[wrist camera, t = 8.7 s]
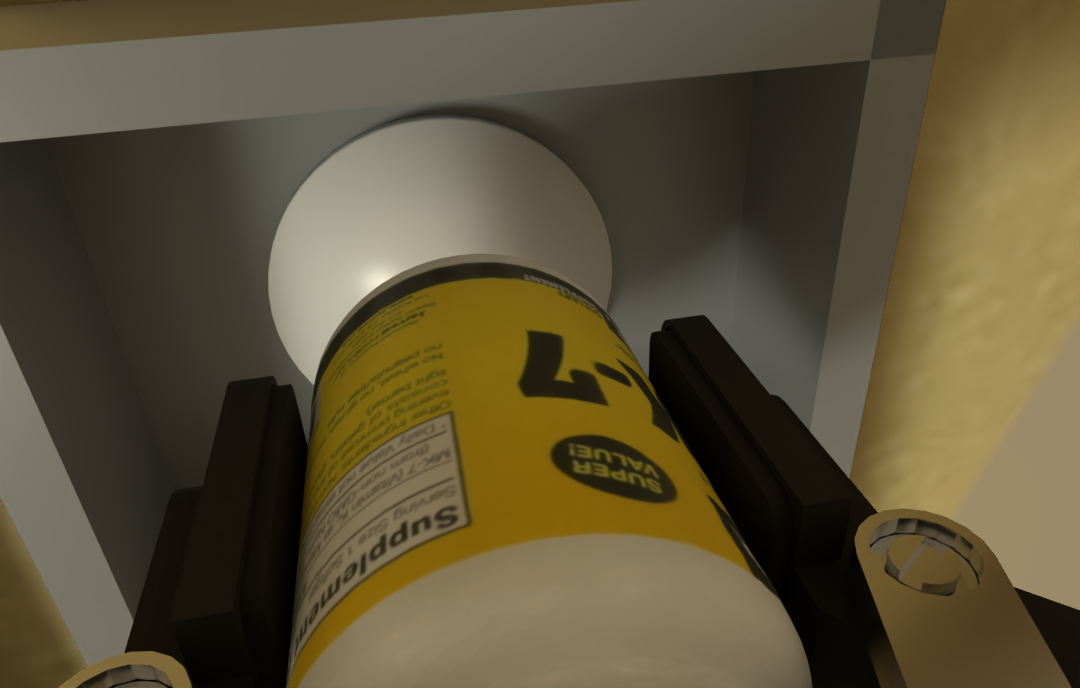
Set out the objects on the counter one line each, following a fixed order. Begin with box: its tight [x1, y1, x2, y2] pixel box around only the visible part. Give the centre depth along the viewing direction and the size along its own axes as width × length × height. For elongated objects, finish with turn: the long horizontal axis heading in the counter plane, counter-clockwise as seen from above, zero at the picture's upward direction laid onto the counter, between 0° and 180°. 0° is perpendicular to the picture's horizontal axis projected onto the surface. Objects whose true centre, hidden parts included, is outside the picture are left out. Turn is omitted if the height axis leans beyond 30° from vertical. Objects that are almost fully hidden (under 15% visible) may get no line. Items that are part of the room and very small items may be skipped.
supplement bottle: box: [286, 254, 812, 688], centre depth 9 cm, size 5×5×8 cm
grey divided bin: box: [0, 0, 946, 667], centre depth 15 cm, size 20×14×8 cm
